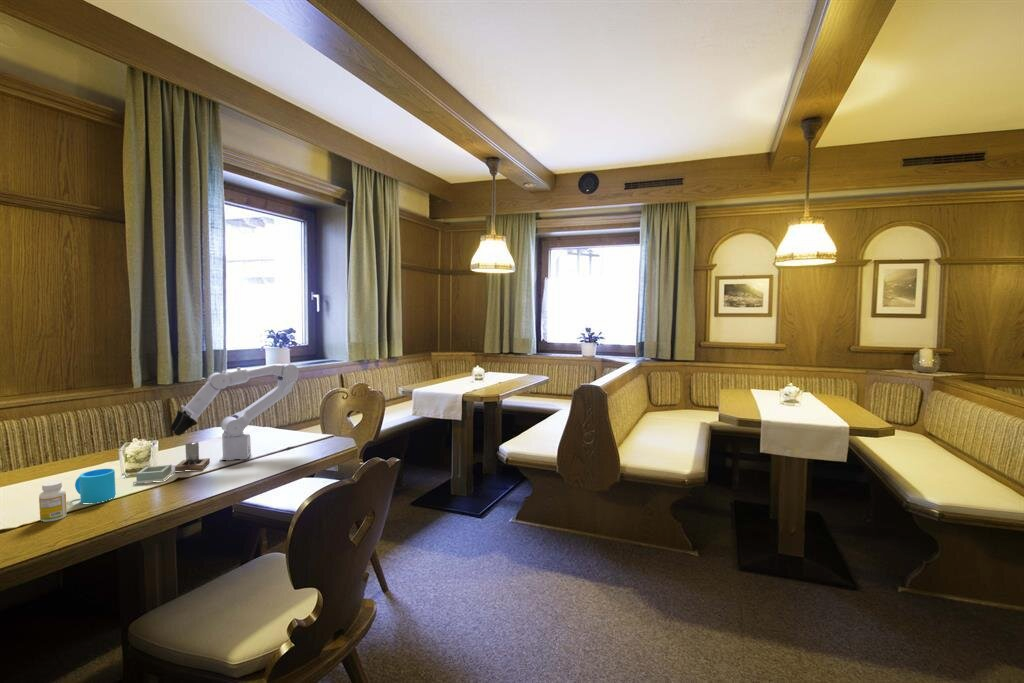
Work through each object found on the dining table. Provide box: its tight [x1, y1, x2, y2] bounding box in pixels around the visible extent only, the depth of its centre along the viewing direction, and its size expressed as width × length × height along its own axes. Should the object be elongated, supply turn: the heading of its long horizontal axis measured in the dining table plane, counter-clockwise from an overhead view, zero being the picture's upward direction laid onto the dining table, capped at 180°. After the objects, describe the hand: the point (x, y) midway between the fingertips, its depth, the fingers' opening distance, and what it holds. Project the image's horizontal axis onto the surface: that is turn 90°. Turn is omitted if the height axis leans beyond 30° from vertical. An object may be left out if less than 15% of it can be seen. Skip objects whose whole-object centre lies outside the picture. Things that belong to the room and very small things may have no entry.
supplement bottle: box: [38, 480, 68, 523], centre depth 137 cm, size 5×5×10 cm
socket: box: [174, 457, 211, 471], centre depth 182 cm, size 9×9×2 cm
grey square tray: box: [132, 464, 176, 485], centre depth 170 cm, size 9×9×3 cm
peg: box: [185, 441, 200, 465], centre depth 181 cm, size 4×4×9 cm
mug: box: [74, 468, 117, 504], centre depth 151 cm, size 12×8×8 cm
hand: (174, 432), depth 181 cm, fingers open, 7 cm apart
